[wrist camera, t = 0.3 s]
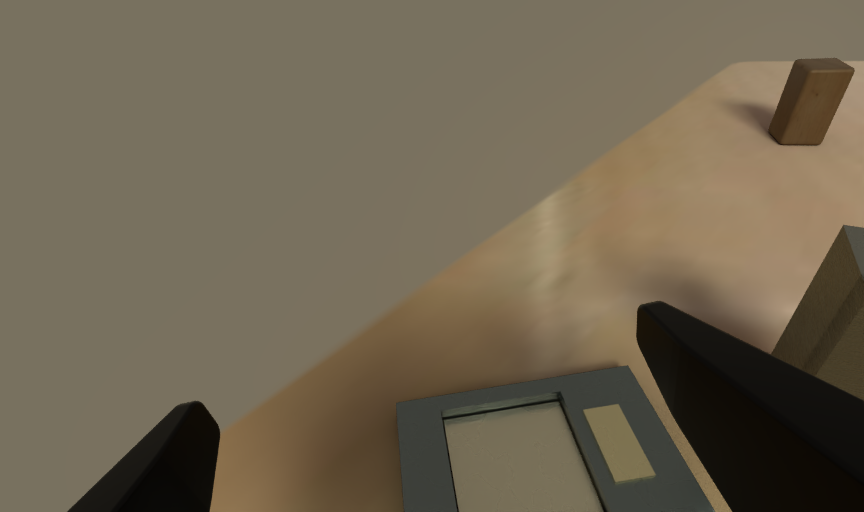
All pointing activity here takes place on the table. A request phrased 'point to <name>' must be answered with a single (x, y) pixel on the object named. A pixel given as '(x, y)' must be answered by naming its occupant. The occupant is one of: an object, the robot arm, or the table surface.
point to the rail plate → (544, 449)
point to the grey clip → (831, 318)
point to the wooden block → (810, 100)
